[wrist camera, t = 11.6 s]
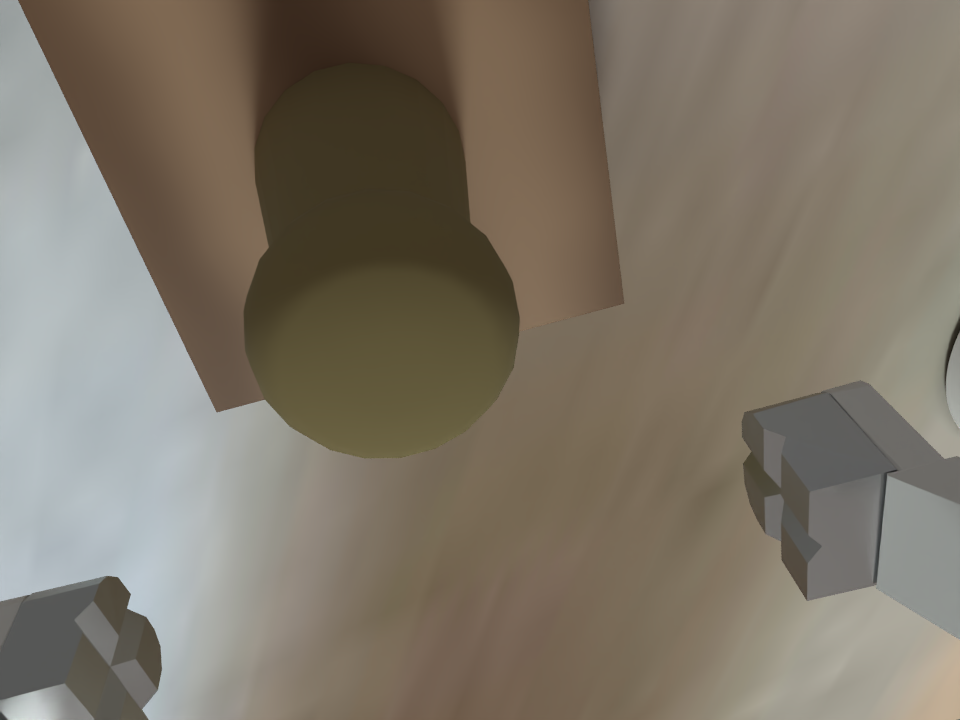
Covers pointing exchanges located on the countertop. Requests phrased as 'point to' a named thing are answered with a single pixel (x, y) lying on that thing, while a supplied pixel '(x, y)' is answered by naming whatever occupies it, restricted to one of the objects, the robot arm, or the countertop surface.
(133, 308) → the countertop surface
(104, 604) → the robot arm
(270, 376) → the cork
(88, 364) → the countertop surface
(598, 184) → the walnut block
